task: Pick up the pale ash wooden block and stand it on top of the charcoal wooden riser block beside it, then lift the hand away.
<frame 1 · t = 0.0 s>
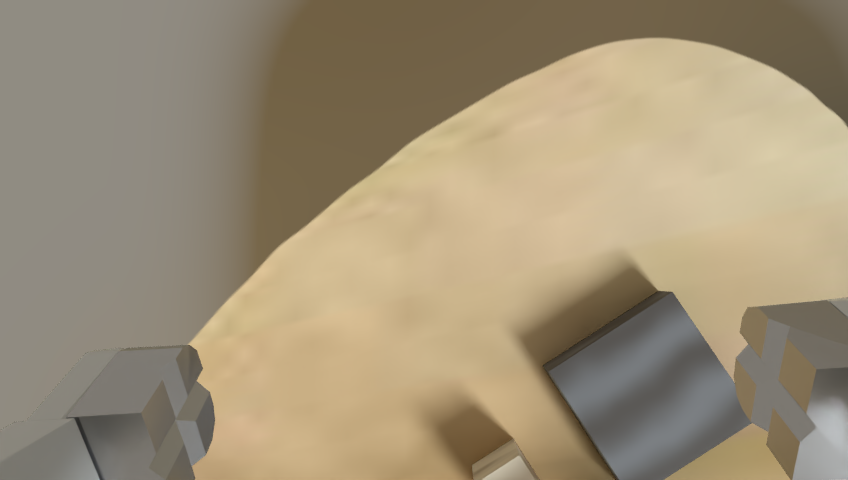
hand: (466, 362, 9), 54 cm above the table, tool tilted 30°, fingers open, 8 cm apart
ash block: (506, 472, 62), on the table
riser block: (639, 387, 62), on the table
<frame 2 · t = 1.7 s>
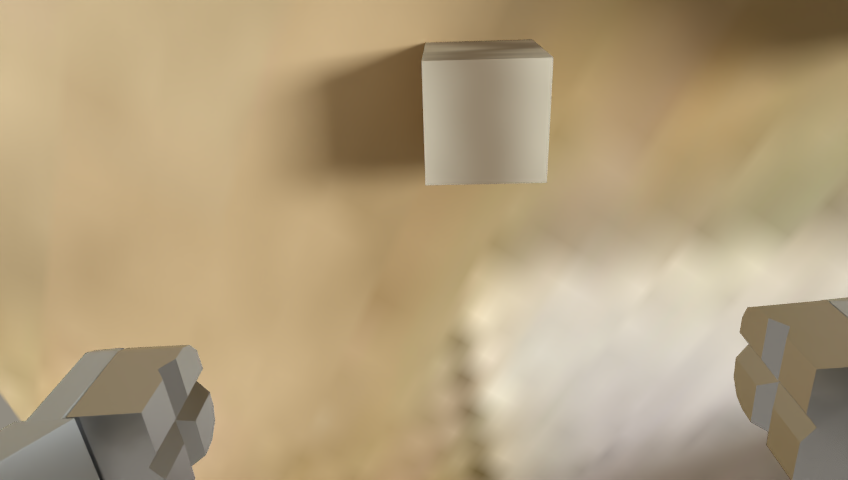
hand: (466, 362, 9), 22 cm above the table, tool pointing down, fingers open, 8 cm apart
ash block: (478, 94, 30), on the table
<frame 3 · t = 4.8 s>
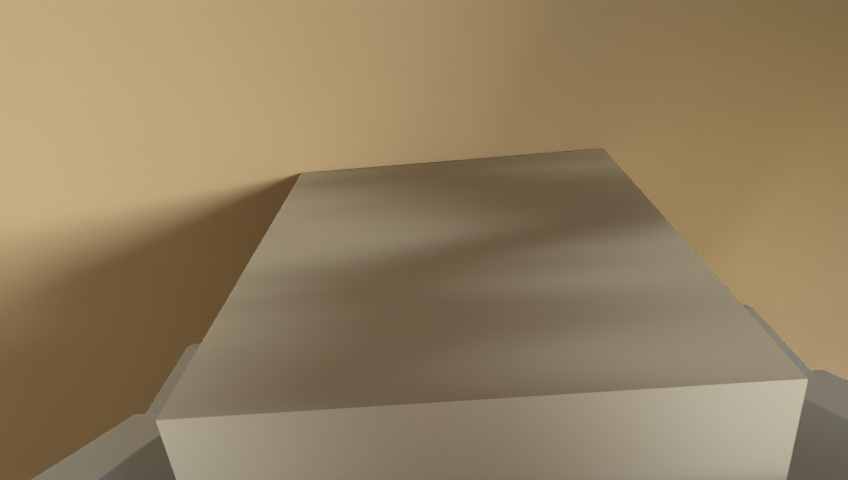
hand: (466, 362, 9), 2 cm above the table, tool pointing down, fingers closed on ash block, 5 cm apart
ash block: (460, 292, 11), on the table, touching gripper
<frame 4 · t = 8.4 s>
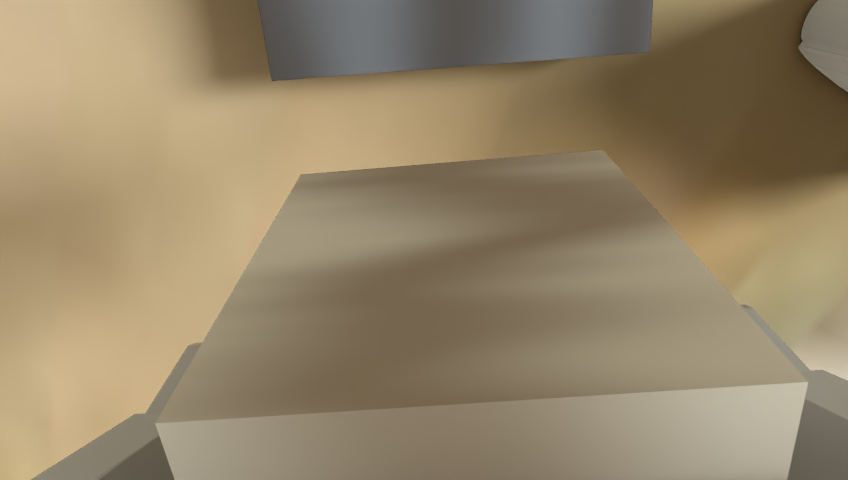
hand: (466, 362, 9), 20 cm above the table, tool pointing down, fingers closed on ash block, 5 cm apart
ash block: (460, 293, 11), point 18 cm above the table, touching gripper
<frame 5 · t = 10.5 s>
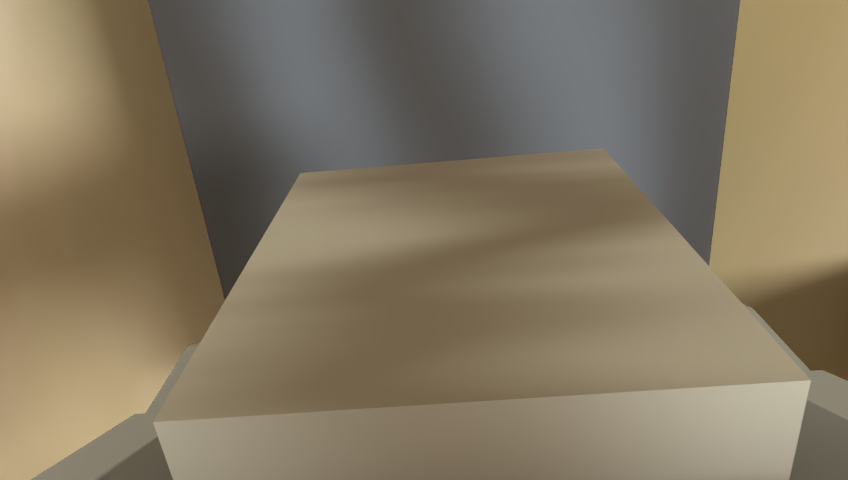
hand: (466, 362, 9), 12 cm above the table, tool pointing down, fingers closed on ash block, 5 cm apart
ash block: (459, 292, 11), point 10 cm above the table, touching gripper
riser block: (451, 146, 20), on the table
when the fingers open (8 cm above the table, at t = 12.1 s): ash block drops 1 cm, resting on riser block.
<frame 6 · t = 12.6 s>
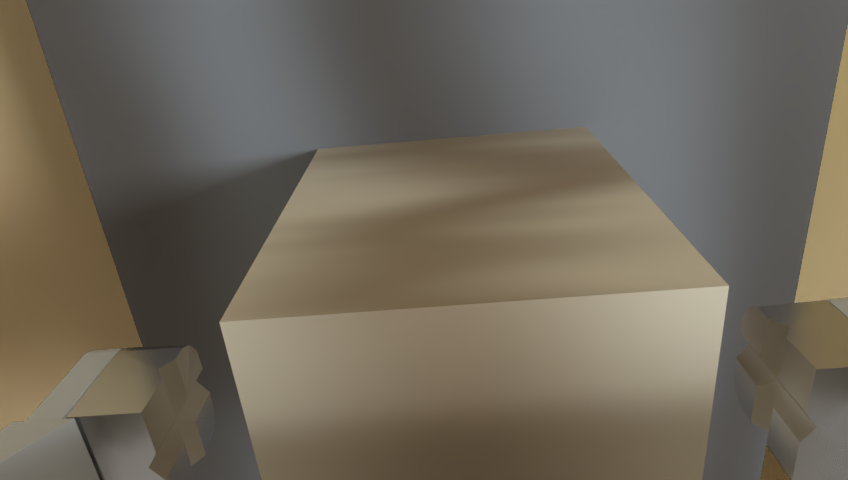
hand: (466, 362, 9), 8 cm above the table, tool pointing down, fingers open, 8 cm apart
ash block: (459, 257, 13), point 4 cm above the table, touching riser block
riser block: (449, 187, 16), on the table
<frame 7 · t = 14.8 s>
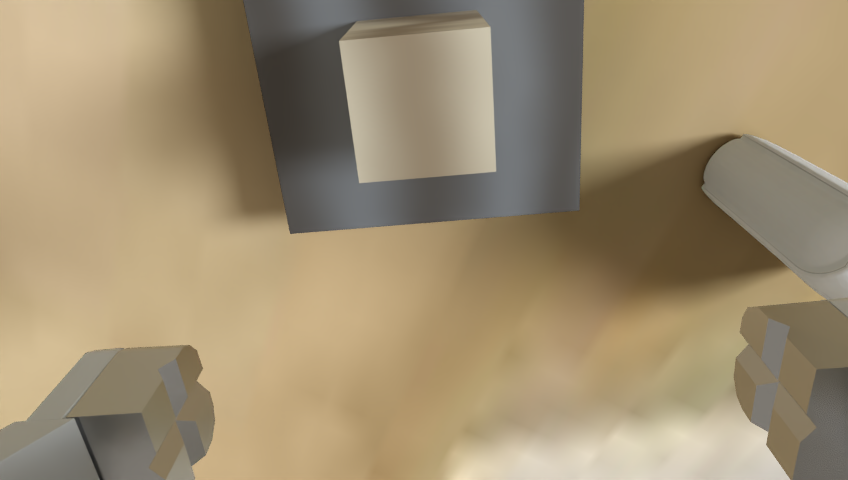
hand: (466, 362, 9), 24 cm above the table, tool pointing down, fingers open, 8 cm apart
ash block: (421, 76, 27), point 4 cm above the table, touching riser block
riser block: (420, 59, 30), on the table
photo printer: (781, 196, 34), on the table
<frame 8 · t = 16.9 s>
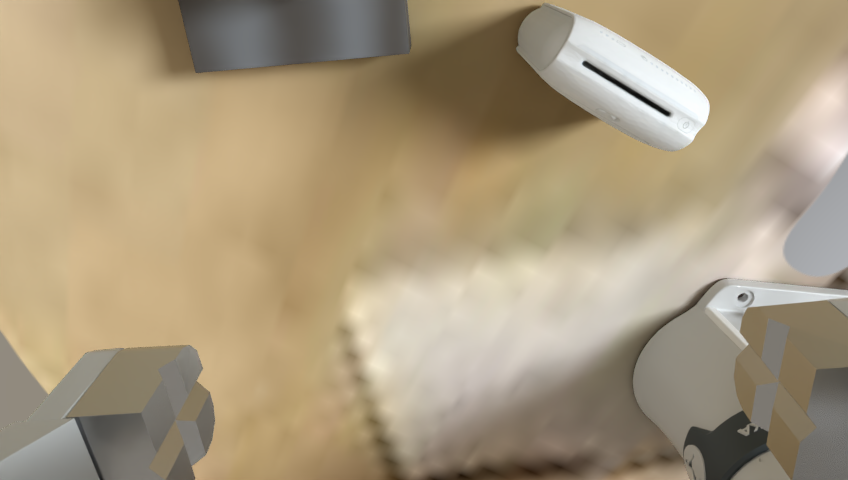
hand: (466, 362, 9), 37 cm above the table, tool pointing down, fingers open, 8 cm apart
photo printer: (582, 58, 43), on the table
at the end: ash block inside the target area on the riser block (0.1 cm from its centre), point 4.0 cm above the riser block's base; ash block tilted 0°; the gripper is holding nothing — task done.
